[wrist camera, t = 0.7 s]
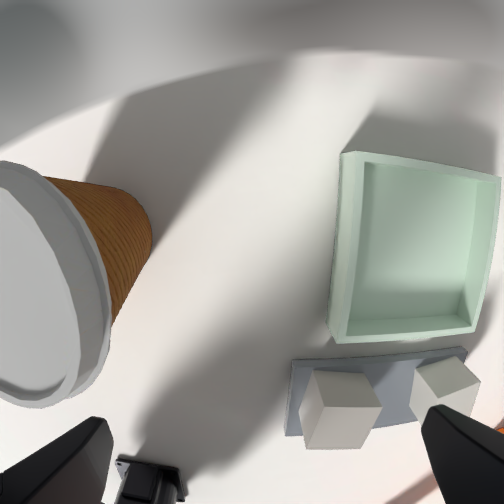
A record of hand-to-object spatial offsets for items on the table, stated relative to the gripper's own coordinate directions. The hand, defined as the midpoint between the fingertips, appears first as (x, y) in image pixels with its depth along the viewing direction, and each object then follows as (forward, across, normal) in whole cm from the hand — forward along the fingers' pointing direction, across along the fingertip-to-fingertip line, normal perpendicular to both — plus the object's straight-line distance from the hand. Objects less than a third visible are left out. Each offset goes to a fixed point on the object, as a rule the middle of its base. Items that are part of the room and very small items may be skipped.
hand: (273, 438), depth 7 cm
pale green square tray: (+13, -10, -2) cm, 17 cm away
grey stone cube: (+12, -6, +9) cm, 16 cm away
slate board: (+13, -10, +10) cm, 19 cm away
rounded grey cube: (+12, -14, +9) cm, 21 cm away
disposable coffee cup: (+14, +10, -3) cm, 17 cm away
